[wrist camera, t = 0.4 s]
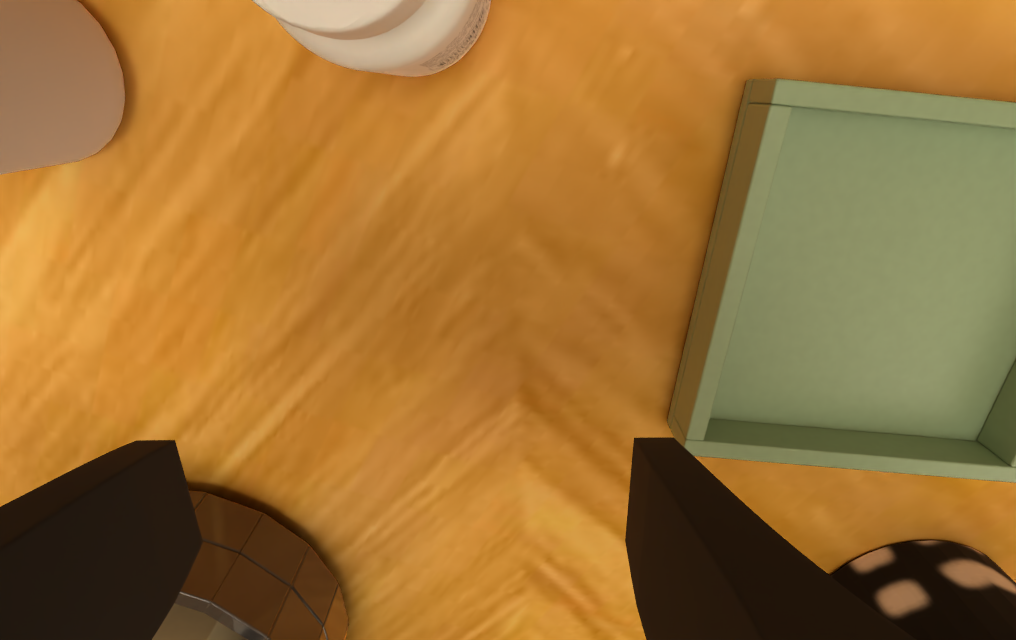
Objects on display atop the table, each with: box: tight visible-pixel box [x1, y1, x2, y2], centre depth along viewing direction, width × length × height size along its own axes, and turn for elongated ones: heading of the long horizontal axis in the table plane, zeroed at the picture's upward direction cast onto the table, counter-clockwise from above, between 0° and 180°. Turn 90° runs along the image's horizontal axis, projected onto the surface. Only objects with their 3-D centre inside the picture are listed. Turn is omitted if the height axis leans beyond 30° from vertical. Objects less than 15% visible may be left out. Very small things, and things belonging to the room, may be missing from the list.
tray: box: [667, 78, 1016, 483], centre depth 17 cm, size 11×11×2 cm
